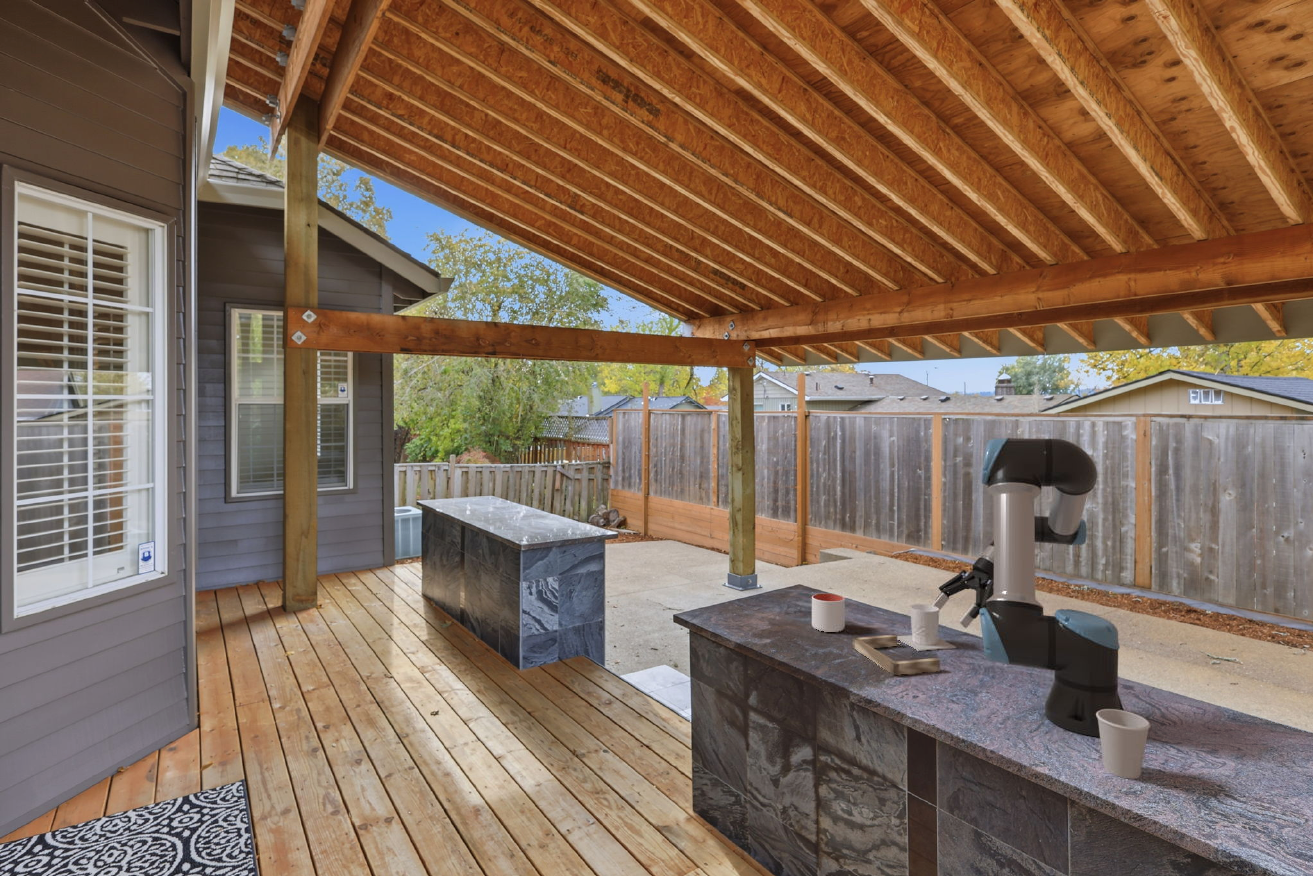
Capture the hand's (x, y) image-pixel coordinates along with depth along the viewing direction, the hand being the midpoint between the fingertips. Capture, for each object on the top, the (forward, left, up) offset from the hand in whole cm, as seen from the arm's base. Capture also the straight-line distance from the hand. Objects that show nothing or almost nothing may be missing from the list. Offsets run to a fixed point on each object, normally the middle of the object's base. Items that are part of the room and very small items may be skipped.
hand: (946, 618), depth 200 cm
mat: (-2, +8, -7) cm, 10 cm away
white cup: (-2, +8, -6) cm, 10 cm away
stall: (-14, +22, -7) cm, 27 cm away
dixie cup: (-74, +3, -7) cm, 74 cm away
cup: (+13, +32, -7) cm, 35 cm away
